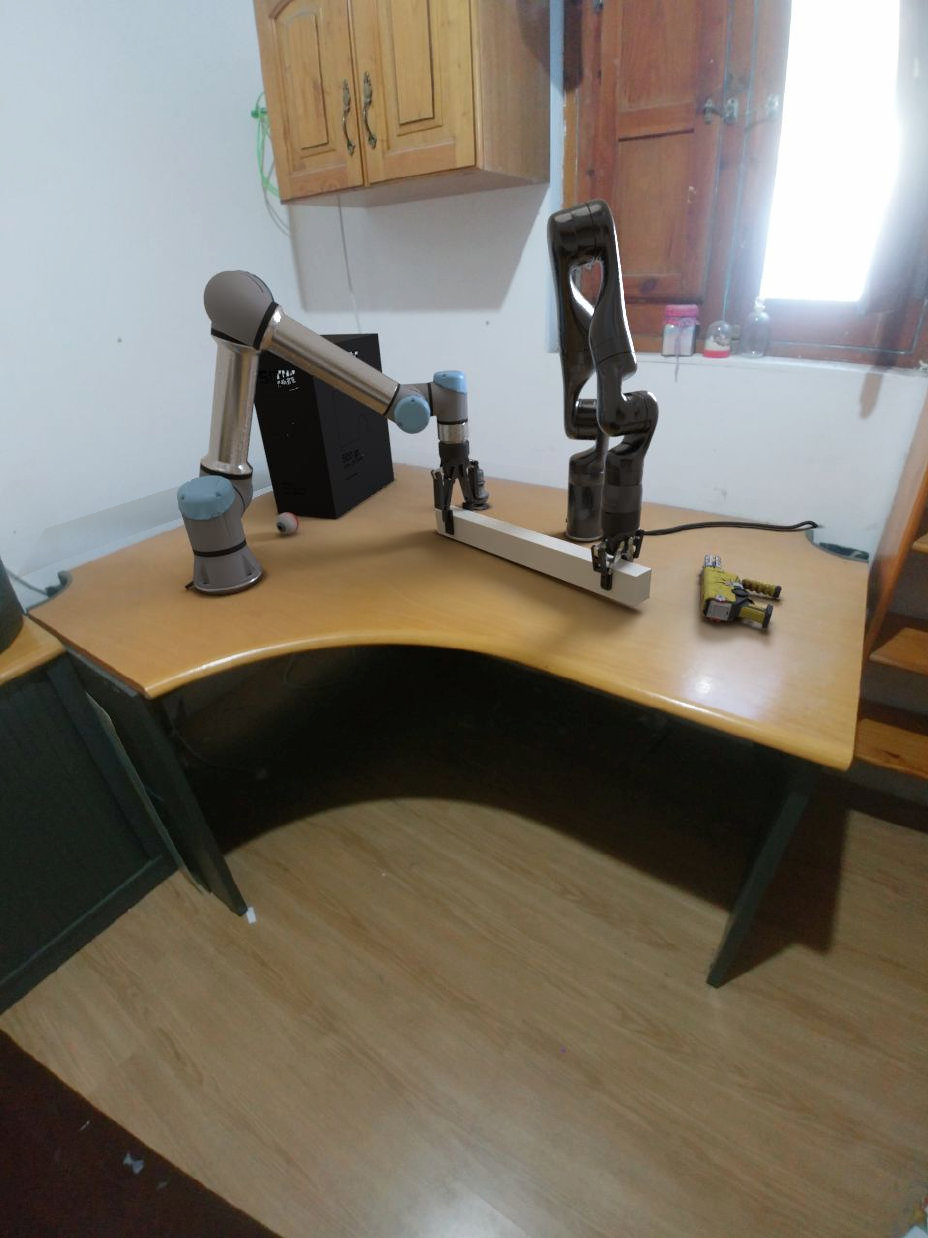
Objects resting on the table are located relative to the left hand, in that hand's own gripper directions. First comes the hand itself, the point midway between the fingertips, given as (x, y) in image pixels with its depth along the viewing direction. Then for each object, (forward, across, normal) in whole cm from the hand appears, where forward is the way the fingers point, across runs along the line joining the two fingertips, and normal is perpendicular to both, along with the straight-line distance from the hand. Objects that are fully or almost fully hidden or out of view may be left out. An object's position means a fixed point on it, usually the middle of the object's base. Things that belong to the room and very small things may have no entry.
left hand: (458, 530), depth 157 cm
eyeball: (+2, +31, -35) cm, 47 cm away
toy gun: (+2, -18, +68) cm, 70 cm away
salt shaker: (+2, -18, -13) cm, 23 cm away
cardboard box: (+2, +5, -54) cm, 54 cm away
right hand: (-2, 0, +50) cm, 50 cm away
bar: (+1, 0, +25) cm, 25 cm away
